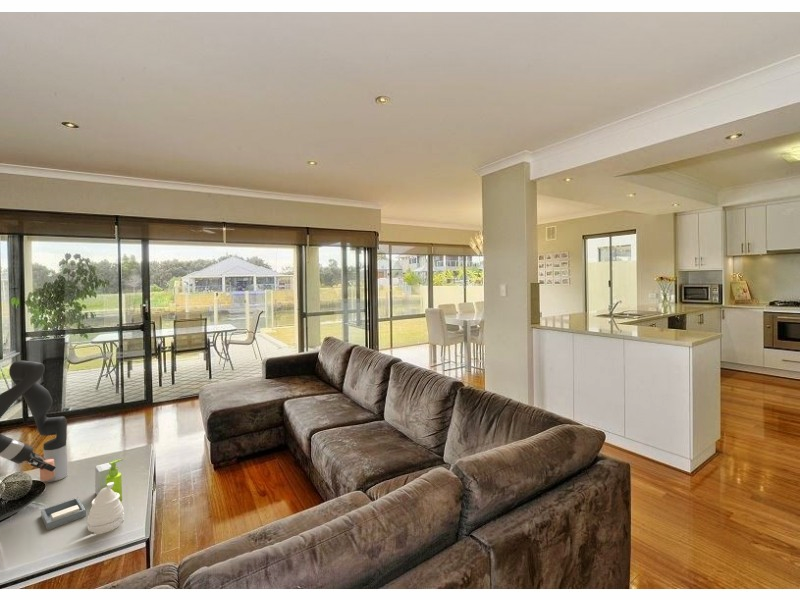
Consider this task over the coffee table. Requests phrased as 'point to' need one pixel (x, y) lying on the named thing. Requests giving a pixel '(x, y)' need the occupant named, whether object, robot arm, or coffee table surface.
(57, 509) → the tray
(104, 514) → the honey pot
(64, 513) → the cream rectangular block
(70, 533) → the coffee table surface
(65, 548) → the coffee table surface
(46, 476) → the peach rounded ovoid
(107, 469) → the skincare box
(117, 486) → the soap dispenser
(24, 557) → the coffee table surface
